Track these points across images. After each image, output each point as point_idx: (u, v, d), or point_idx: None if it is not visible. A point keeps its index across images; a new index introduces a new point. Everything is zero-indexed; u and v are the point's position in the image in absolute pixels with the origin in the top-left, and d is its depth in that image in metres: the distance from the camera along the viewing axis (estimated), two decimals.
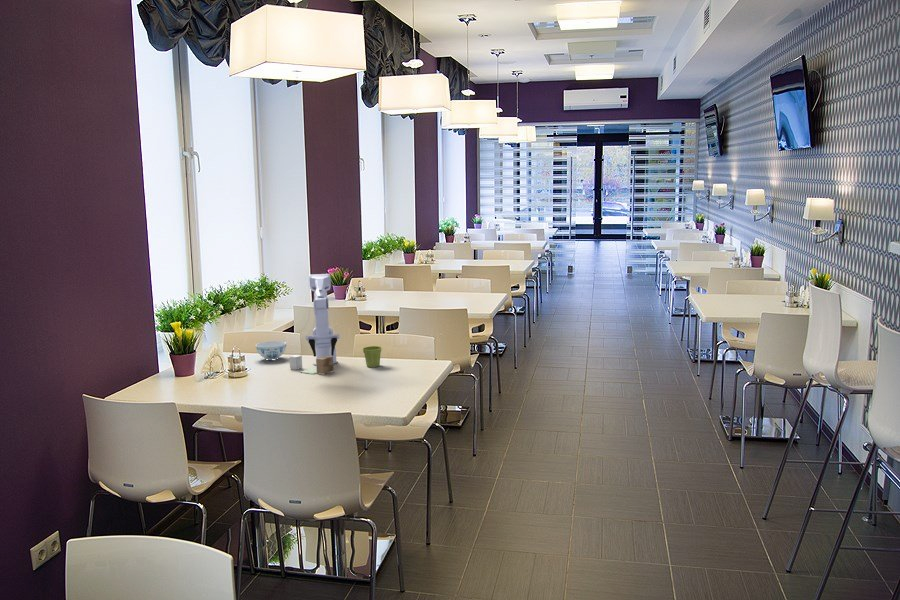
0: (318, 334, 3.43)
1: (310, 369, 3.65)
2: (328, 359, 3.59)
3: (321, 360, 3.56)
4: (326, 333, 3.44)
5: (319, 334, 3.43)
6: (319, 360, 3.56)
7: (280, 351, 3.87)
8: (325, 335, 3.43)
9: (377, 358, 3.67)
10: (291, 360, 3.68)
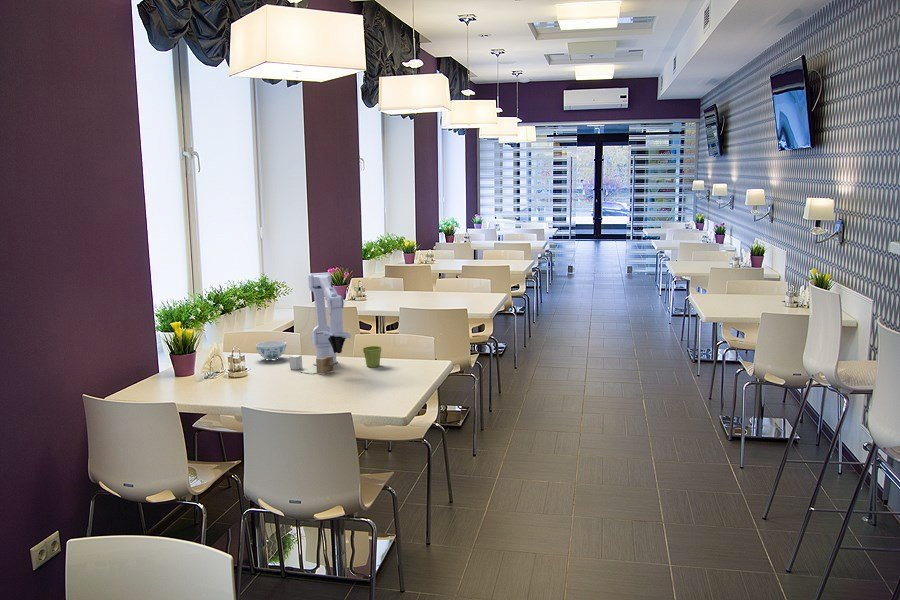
0: (330, 332, 3.52)
1: (310, 369, 3.65)
2: (328, 359, 3.59)
3: (321, 360, 3.56)
4: (336, 332, 3.50)
5: (331, 332, 3.52)
6: (319, 360, 3.56)
7: (280, 351, 3.87)
8: (335, 334, 3.50)
9: (377, 358, 3.67)
10: (291, 360, 3.68)
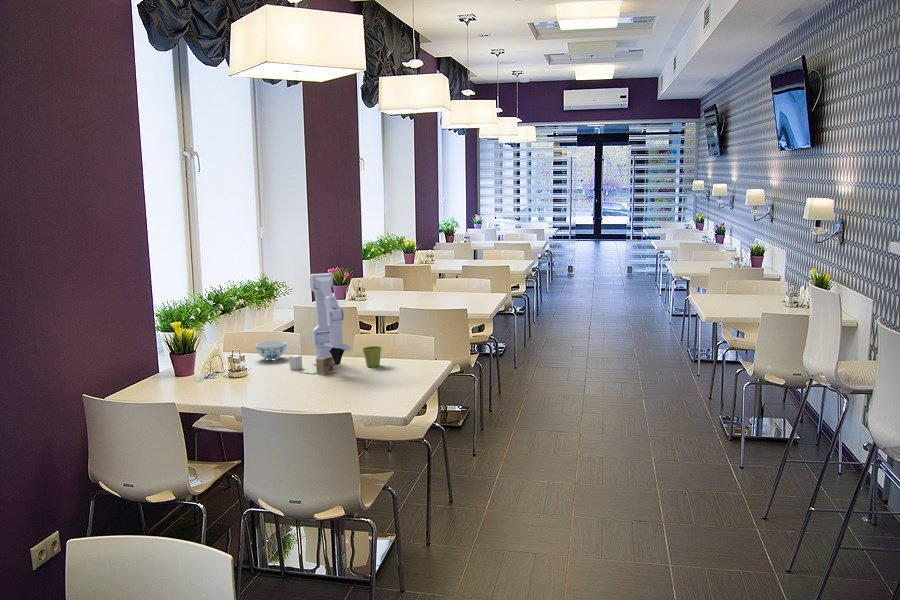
0: (330, 344, 3.53)
1: (310, 369, 3.65)
2: (328, 359, 3.59)
3: (321, 360, 3.56)
4: (337, 344, 3.51)
5: (331, 344, 3.52)
6: (319, 360, 3.56)
7: (280, 351, 3.87)
8: (335, 346, 3.51)
9: (377, 358, 3.67)
10: (291, 360, 3.68)
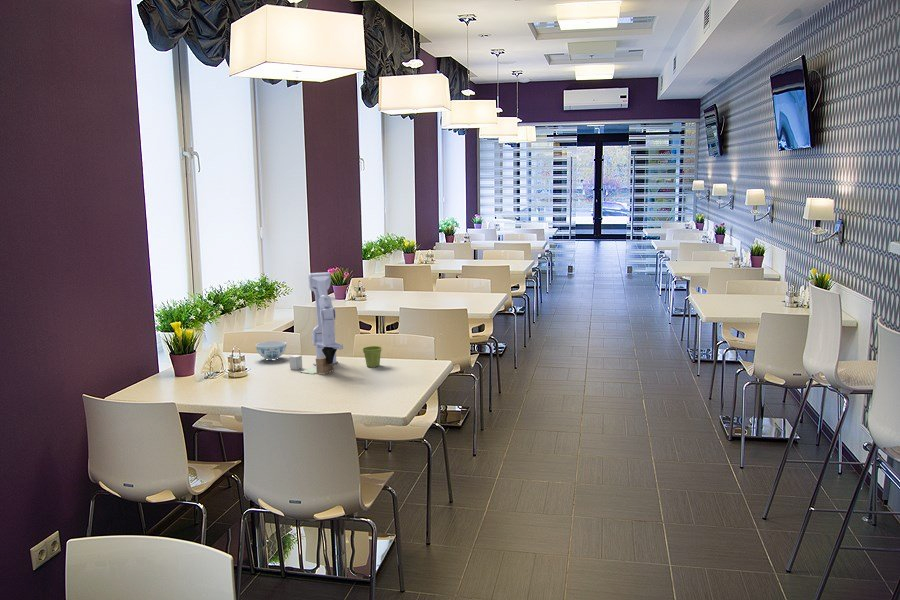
0: (323, 343, 3.55)
1: (310, 369, 3.65)
2: None
3: (321, 360, 3.56)
4: (329, 343, 3.54)
5: (323, 343, 3.55)
6: (318, 360, 3.57)
7: (280, 351, 3.87)
8: (327, 345, 3.54)
9: (377, 358, 3.67)
10: (291, 360, 3.68)
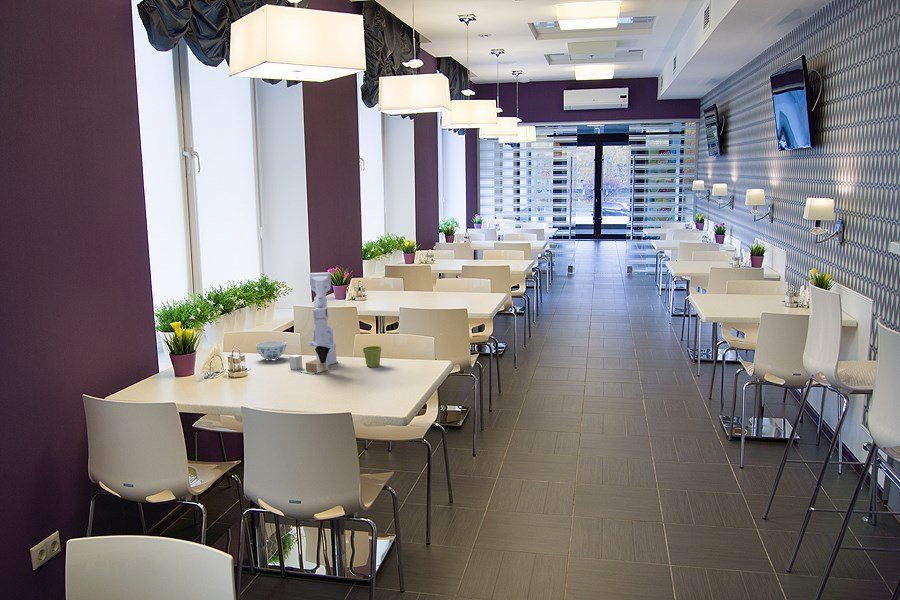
0: (316, 342, 3.58)
1: None
2: (312, 361, 3.64)
3: (306, 364, 3.61)
4: (322, 342, 3.56)
5: (316, 342, 3.57)
6: (307, 367, 3.61)
7: (280, 351, 3.87)
8: (320, 344, 3.56)
9: (377, 358, 3.67)
10: (291, 360, 3.68)
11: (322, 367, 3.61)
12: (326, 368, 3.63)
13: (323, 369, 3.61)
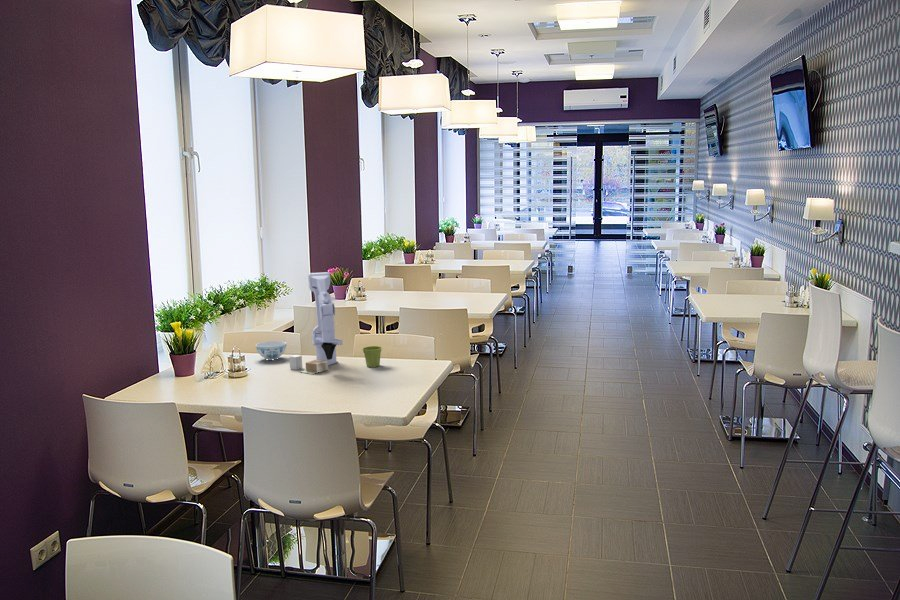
0: (322, 338, 3.55)
1: None
2: (312, 361, 3.64)
3: (306, 364, 3.61)
4: (328, 338, 3.54)
5: (322, 339, 3.55)
6: (307, 367, 3.61)
7: (280, 351, 3.87)
8: (327, 340, 3.53)
9: (377, 358, 3.67)
10: (291, 360, 3.68)
11: (322, 367, 3.61)
12: (326, 368, 3.63)
13: (323, 369, 3.61)
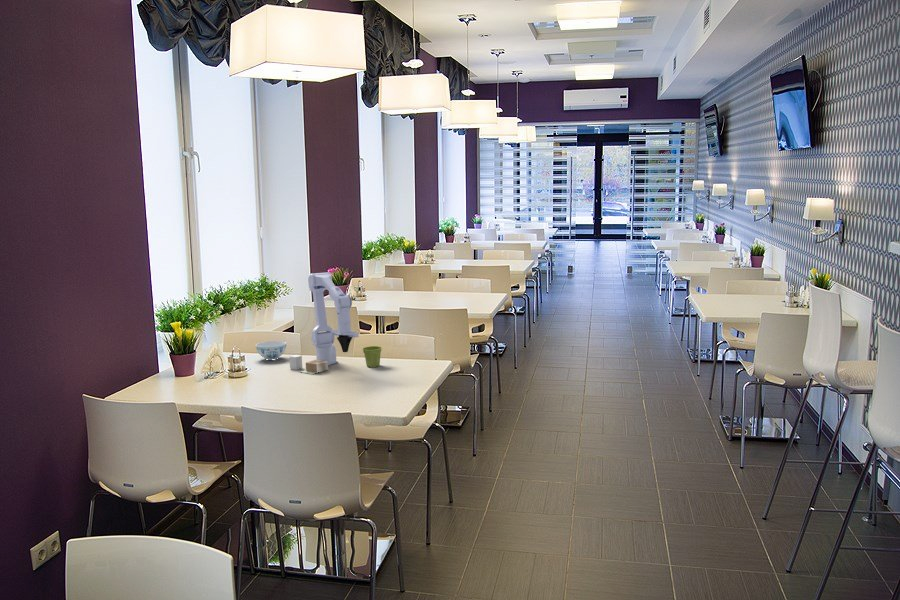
0: (338, 331, 3.53)
1: None
2: (312, 361, 3.64)
3: (306, 364, 3.61)
4: (344, 331, 3.52)
5: (338, 331, 3.53)
6: (307, 367, 3.61)
7: (280, 351, 3.87)
8: (343, 333, 3.52)
9: (377, 358, 3.67)
10: (291, 360, 3.68)
11: (322, 367, 3.61)
12: (326, 368, 3.63)
13: (323, 369, 3.61)
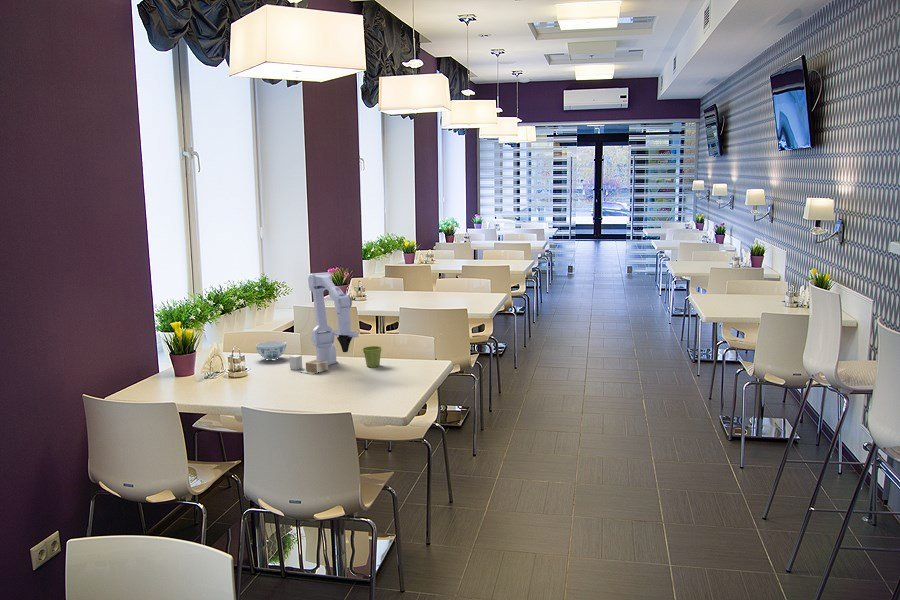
0: (338, 331, 3.53)
1: None
2: (312, 361, 3.64)
3: (306, 364, 3.61)
4: (344, 331, 3.52)
5: (338, 331, 3.53)
6: (307, 367, 3.61)
7: (280, 351, 3.87)
8: (343, 333, 3.52)
9: (377, 358, 3.67)
10: (291, 360, 3.68)
11: (322, 367, 3.61)
12: (326, 368, 3.63)
13: (323, 369, 3.61)
